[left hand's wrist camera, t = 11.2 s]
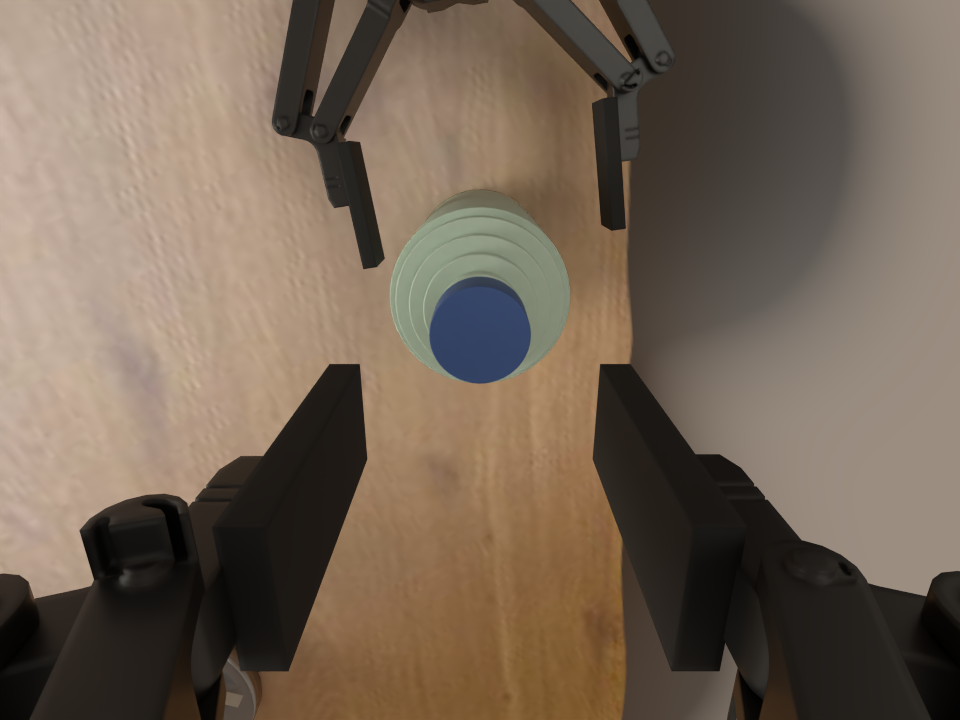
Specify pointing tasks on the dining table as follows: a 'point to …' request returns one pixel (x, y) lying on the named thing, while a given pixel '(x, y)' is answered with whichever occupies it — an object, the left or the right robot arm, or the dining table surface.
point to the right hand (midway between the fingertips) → (492, 246)
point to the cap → (480, 330)
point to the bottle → (480, 270)
